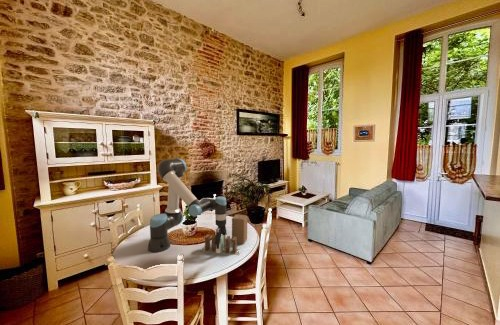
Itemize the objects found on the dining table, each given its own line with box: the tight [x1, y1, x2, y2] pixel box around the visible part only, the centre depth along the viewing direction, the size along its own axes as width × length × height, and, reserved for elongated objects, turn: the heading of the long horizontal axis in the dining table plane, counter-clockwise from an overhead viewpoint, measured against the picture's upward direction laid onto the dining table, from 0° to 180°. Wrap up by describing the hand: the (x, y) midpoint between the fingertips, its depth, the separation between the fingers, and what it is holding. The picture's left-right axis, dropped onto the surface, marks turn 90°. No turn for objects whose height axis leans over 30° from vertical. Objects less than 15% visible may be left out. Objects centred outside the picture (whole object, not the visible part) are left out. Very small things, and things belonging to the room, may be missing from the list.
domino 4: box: [231, 237, 238, 254], centre depth 149 cm, size 2×5×10 cm, turn 171°
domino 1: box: [204, 234, 211, 251], centre depth 152 cm, size 2×5×10 cm, turn 171°
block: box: [231, 213, 248, 245], centre depth 165 cm, size 10×10×20 cm
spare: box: [220, 234, 225, 252], centre depth 150 cm, size 2×5×10 cm, turn 171°
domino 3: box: [224, 235, 231, 253], centre depth 150 cm, size 2×5×10 cm, turn 171°
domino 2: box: [211, 234, 216, 252], centre depth 151 cm, size 2×5×10 cm, turn 171°
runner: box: [200, 245, 241, 256], centre depth 151 cm, size 28×8×1 cm, turn 81°
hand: (221, 247), depth 151 cm, fingers open, 13 cm apart
